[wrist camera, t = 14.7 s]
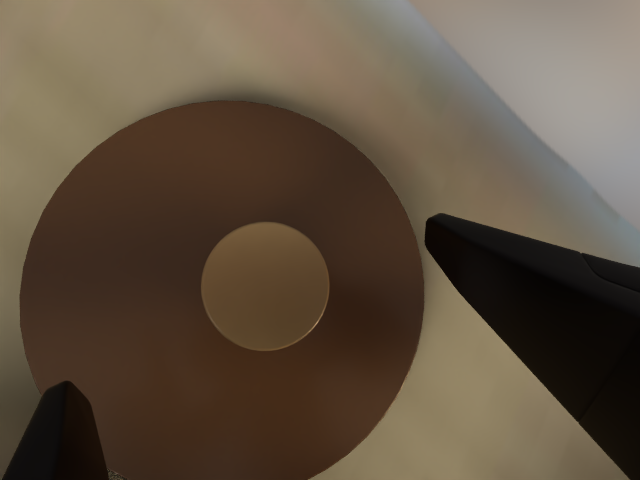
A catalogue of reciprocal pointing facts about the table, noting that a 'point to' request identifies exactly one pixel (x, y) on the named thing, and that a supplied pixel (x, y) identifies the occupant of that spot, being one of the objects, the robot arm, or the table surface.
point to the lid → (225, 294)
